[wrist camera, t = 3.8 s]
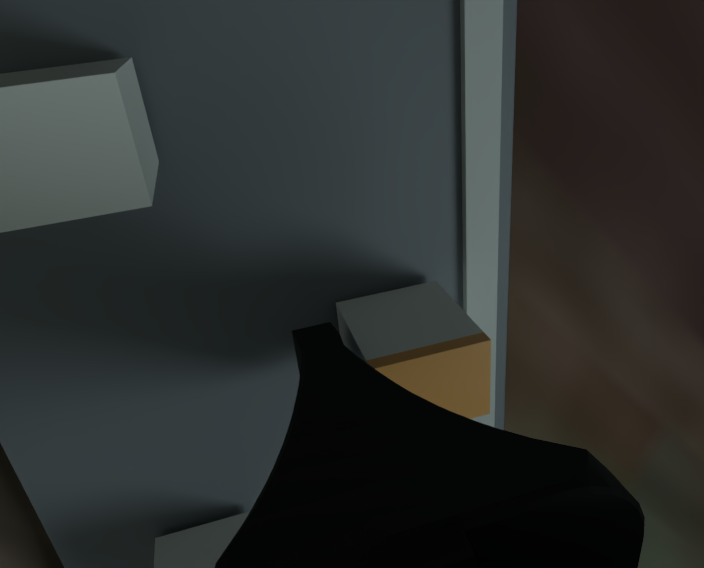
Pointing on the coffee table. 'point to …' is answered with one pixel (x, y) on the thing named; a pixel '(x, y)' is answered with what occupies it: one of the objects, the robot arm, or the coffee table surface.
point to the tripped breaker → (422, 345)
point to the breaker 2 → (197, 544)
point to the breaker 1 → (73, 144)
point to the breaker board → (242, 241)
